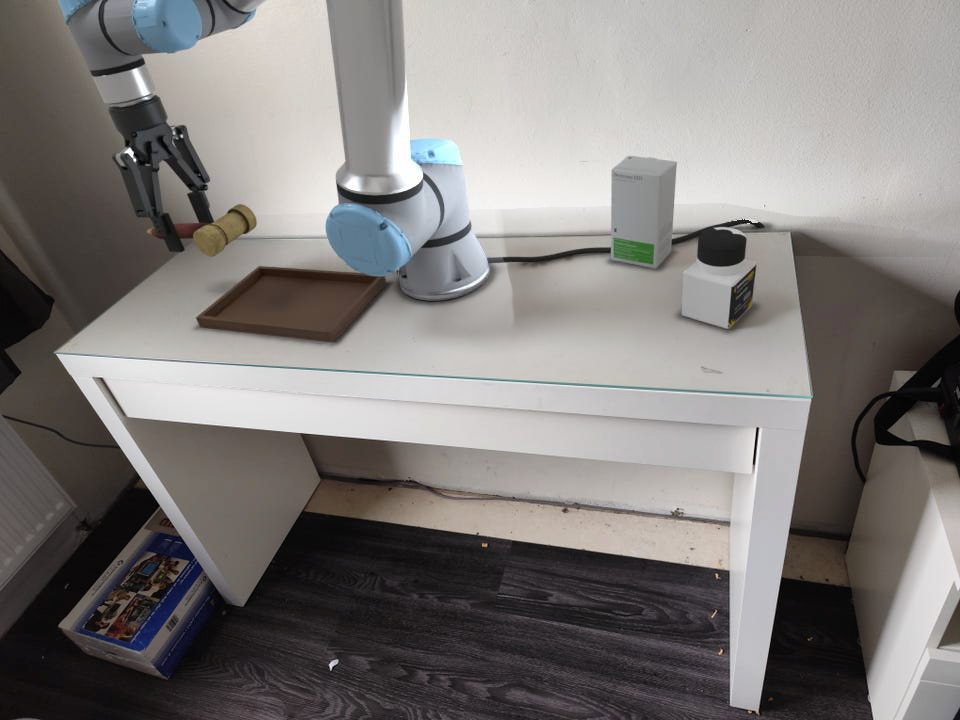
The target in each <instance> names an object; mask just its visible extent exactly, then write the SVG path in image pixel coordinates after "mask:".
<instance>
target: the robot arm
mask: <svg viewBox="0 0 960 720" xmlns="http://www.w3.org/2000/svg"><path fill="white" fill-rule="evenodd" d="M266 1H267V0H57V2H58V4H59V7H60V10H61V12H62V14H63V17H64V21H65V24H66V26H67V27H68V29H69V31H70V33H71V35H72V37H73V39H74V41H75V44H76V45H77V47H78V50H79V52H80V54H81V57H82V59H83V60H84V62H85V64H86V66H87V68H88V71H89V72H90V75H91V77H92V79H93V81H94V83H95V86H96V88H97V90H98V92H99V95H100V97H101V99H102V100H103V103H104V104H106V105H110V106H109V107H108V109H107V112H108V115H109V116H110V118H111V120H112V123H113V125H114V127H115V129H116V131H117V132H118V133H119V134H120V135H121V136H122V137H123V141H124V148H123V149H121V151H120V152H116V153H115V152H114V153H112V155H111V158H112V161H113V162H114V163H115V165H116V166H117V168H118V169H119V171H120V174H121V177H122V180H123V183H124V186H125V189H126V192H127V195H128V197H129V200H130V203H131V205H132V208H133V212H134V215H135V216H136V217H137V218H148V219H150V220H151V223H152V225H153V227H155V229H156V231H157V233H158V234H159V235H160V236H163V239H162V240H163V241H164V243H165V245H166V247H167V249H168V252H171V253H183V252H185V250H186V248H185V247H184V245H183V242H182V239H180V238H179V235H178V233H177V231H176V229H175V227H174V224H175V223H174V222H173V220H172V218H171V216H170V214H169V212H164V207H163V202H162V201H163V199H162V193H161V186H160V177H159V171H160V168H161V167H160V164H161V162H162V161H163V162H165V163H166V165H168V167H169V168H170V169H171V170H172V171H173V172H174V174H175V175H176V176H177V177H178V178H179V180H180V181H181V182H182V183H183V184H184V186H185V187H186V188H187V189H188V190H189V191H190V192H187V193H186V196H187V198H188V200H189V203H190V205H191V207H192V209H193V212H194V214H195V217H196V219H197V221H198V223H209V224H212V223H213V222H215V220H214V217H213V215H212V213H211V210H210V208H211V204H210V202H209V199H208V196H207V194H206V191H208V190H209V185H208V184H209V183H210V182H211V177H210V176H209V173H208V171H207V170H206V168H205V166H204V164H203V162H202V160H201V158H200V156H199V154H198V153H197V151H196V149H195V146H194V145H193V143H192V141H191V139H190V136H189V131H188V127H187V125H185V124H177V125H176V124H175V125H174V124H173V125H170V124H169V123H168V122H167V121H168V119H169V117H168V116H169V115H168V114H167V111H166V109H165V107H164V104H163V102H162V99H161V96H158V95H157V94H155V93H156V91H157V87H156V84H155V83H154V79H153V78H152V76H151V73H150V71H149V68H148V66H147V63H146V61H145V58H144V56H143V55H151V54H152V55H153V54H165V53H166V54H175V53H177V52H181V51H186V50H190V49H191V48H193V47H195V46H196V44H197V43H198V41H201V40H204V39H205V38H208V37H211V36H214V35H217V34H220V33H223V32H226V31H229V30H235V29H238V28H241V26H244V25H246V24H247V23H248V22H250V21H252V19H253V18H254V17H255V15H256V13H257V10H258V8H259V7H260V6H262V5H263V4H264V3H265V2H266ZM325 3H326V12H327V21H328V28H329V37H330V45H331V54H332V61H333V70H334V78H335V86H336V95H337V103H338V111H339V120H340V128H341V136H342V144H343V146H342V147H343V153H344V162H343V163H342V164H341V165H340V166H339V168H337V170H336V171H335V172H336V173H335V184H336V192H337V193H336V194H337V200H338V201H337V202H338V203H337V205H334V207H333V208H332V209H330V210H329V211H330V212H329V214H328V215H327V216H326V220H325V234H326V238H327V241H328V243H329V245H330V247H331V248H332V250H333V251H334V253H335V254H336V255H337V257H338V258H339V259H341V260H342V261H344V262H345V264H346V265H347V266H349V267H350V268H351V269H353V270H354V271H356V272H357V273H363V274H366V275H370V276H377V277H381V276H385V277H386V276H387V277H388V276H390V275H392V274H394V273H396V276H398V280H399V284H400V288H401V290H402V292H404V294H406V295H407V296H408V297H411V298H413V299H416V300H421V301H427V302H428V301H429V302H433V301H436V302H437V301H446V300H451V299H456V298H460V297H462V296H465V295H468V294H471V293H472V292H474V291H476V290H477V289H478V288H480V287H482V286H483V285H484V284H485V283H486V281H487V280H488V279H489V276H490V274H491V269H490V264H507V263H522V264H523V263H524V264H525V263H526V264H527V263H529V264H530V263H532V264H533V263H544V262H550V261H555V260H559V259H564V258H568V257H569V258H570V257H573V256H580V255H587V254H589V255H590V254H611V246H609V247H608V246H607V247H606V246H605V247H604V246H603V247H602V246H600V247H599V246H597V247H595V246H594V247H583V248H575V249H570V250H565V251H561V252H557V253H552V254H547V255H540V256H491V257H487V255H486V253H485V251H484V249H483V247H482V245H481V244H480V241H479V240H478V238H477V236H476V234H475V232H474V230H473V226H472V219H471V213H470V206H469V200H468V199H469V198H468V194H467V186H466V181H465V174H464V173H465V172H464V167H463V166H464V162H463V161H462V157H461V153H460V148H459V147H458V145H457V144H456V143H455V142H454V141H452V140H449V139H445V138H418V139H410V138H411V137H410V120H409V118H410V117H409V102H408V85H407V84H408V82H407V65H406V43H405V28H404V27H405V26H404V25H405V24H404V8H403V7H404V5H403V0H325ZM741 219H742V218H741ZM736 220H737V219H736ZM730 221H731V222H729V221H725V222H722V223H718V224H714V225H710V226H706V227H704V228H701V229H698V230H695V231H693V232H690V233H688V234H685V235H682V236H678V237H675V238H672V244H671V246H674V245H677V244H680V243H681V244H682V243H684V242H689V241H691V240H694V239H696V238H698V237H699V236H700V235H701V234H702V233H703V232H704V231H706V230H708V229H712V228H717V227H728V228H733V227H736V226H740V225H748V224H747V223H750V224H749V225H752V226H754V227H756V228H757V229H764V228H765V225H764V224H763V223H762V222H760V221H759V222H758V223H752V222H751V221H749V220H745V219H744V220H743V219H742V220H737V221H733V220H730Z"/></svg>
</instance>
